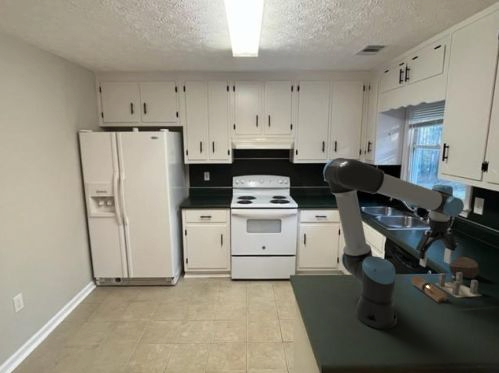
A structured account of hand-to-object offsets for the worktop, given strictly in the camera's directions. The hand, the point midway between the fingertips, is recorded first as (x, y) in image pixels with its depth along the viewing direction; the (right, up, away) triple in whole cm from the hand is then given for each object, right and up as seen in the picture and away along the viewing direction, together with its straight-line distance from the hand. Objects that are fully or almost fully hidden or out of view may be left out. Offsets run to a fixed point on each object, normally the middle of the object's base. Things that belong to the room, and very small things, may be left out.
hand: (435, 264), depth 127 cm
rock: (+26, -12, +17) cm, 34 cm away
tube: (-2, -14, +2) cm, 15 cm away
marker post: (+16, -12, +10) cm, 22 cm away
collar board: (+13, -14, +4) cm, 20 cm away
